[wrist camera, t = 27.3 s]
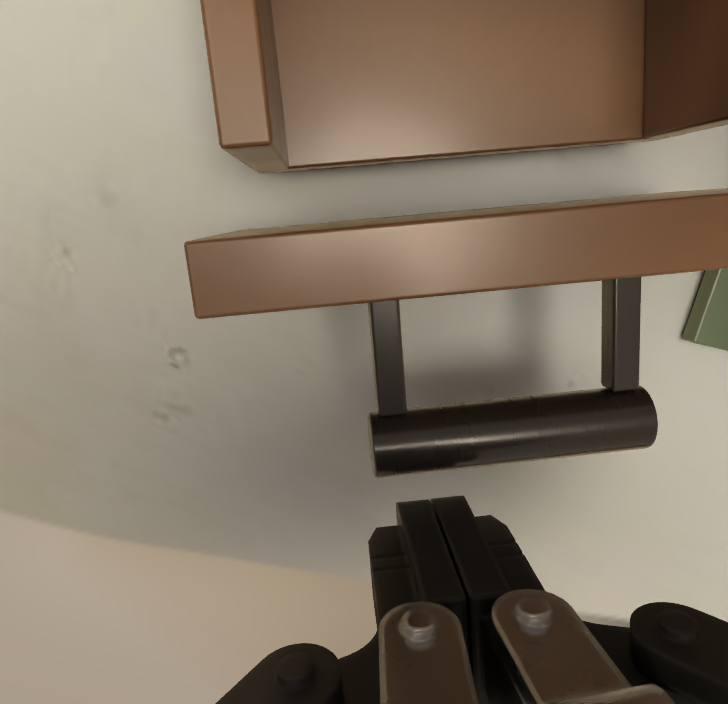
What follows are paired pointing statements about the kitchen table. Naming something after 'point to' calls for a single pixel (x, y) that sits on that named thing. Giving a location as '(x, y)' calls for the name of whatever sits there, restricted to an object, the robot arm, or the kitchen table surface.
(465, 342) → the kitchen table surface
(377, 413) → the drawer
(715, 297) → the board
